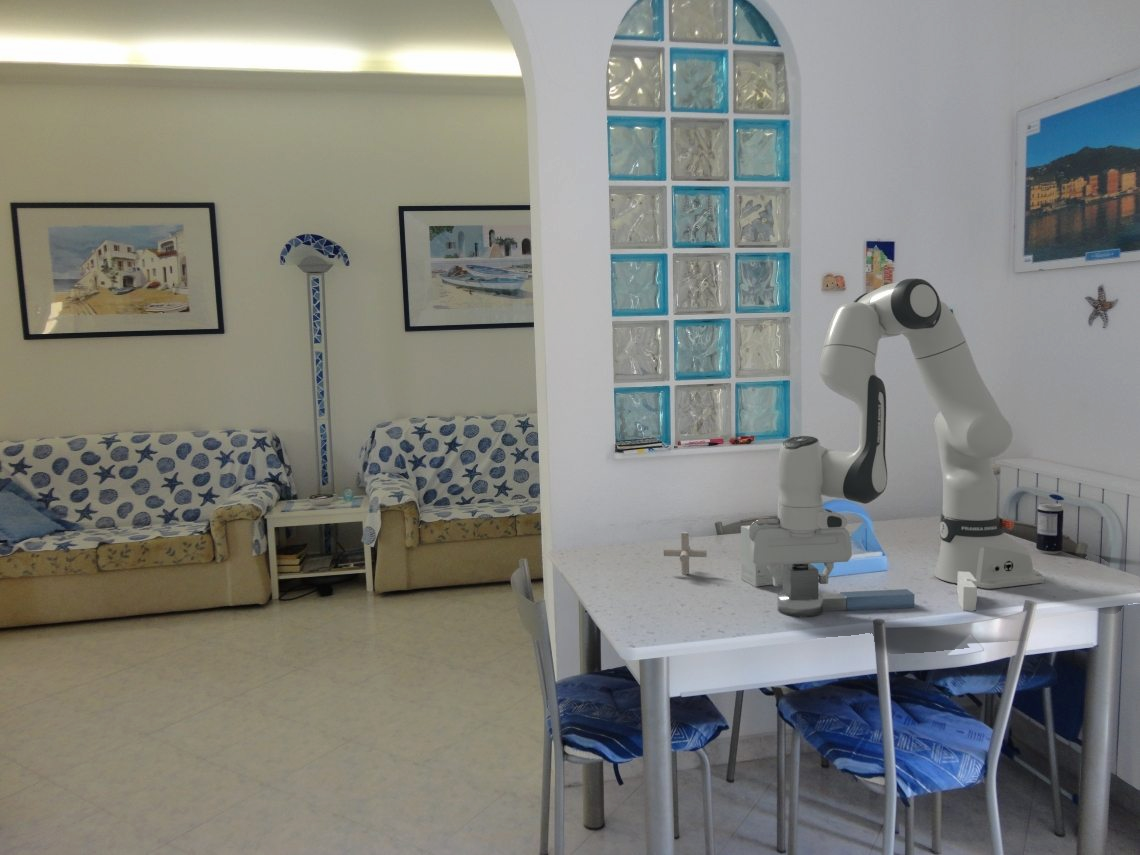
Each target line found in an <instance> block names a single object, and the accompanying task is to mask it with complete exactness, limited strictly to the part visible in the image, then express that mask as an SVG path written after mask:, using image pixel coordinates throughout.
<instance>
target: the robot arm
mask: <svg viewBox="0 0 1140 855" xmlns="http://www.w3.org/2000/svg"><path fill="white" fill-rule="evenodd" d="M900 335H903V336H904V337H906V338H905V339H907V340H908V342H909V346H910V349H911V352H912V355H913V358H914V360H915V363H916V366H917V369H918V371H919V373H920V375H921V376H920V377H921V378H922V381H923V384H924V387H925V389H926V391H927V393H928V394H929V395H930V396H931V398H932V400H933V402H934V403H935V405H936V406H937V408H938V411H939V412H938V413H937V415H936V416H935V419H934V423H933V429H934V430H933V431H934V432H935V433H934V434H935V435H936V440H937V449H938V455H939V462H940V468H941V476H942V513H941V514H940V519H939V521H940V522H939V531H940V532H939V535H940V540H941V541H940V546H939V547H940V548H939V553H938V559H937V563H936V566H935V569H934V572H933V575H934V577H936V578H937V579H939V580H942V581H945V582H948V583H953V584H957V580H958V571H959V572H970V573H971V574H972V575H973V577H974V578H975V579H976V580H977V588H981V589H988V590H989V589H991V590H992V589H1000V588H1009V587H1015V586H1016V587H1017V586H1018V587H1019V586H1026V585H1035V584H1041V583H1044V582H1045V578H1044V575H1043V574H1042V573H1041V572H1039V571H1037V570H1036V569H1033V568H1034V567H1033V560H1032V557H1031V554H1030V552H1029V551H1028V550H1027V549H1026V548H1025V547H1023V546H1022V545H1021V544H1019V543H1018V542H1017V541H1016V540H1014V539H1013V538H1012V537H1010V536H1009V535H1007V533H1005V530H1004V528H1005V529H1007V530H1013V528H1014V527H1015V522H1014V521H1013V520H1011V519H1009V518H1004V519H1003V518H1001V517H999V516H997V515H998V514H997V513H998V512H997V511H998V480H997V478H996V475H995V472H994V469H993V465H992V459H991V458H995V457H998V456H1000V455H1002V454H1004V453H1005V452H1006V451H1007V450H1008V449H1009V447H1010V446H1011V444H1012V441H1013V435H1014V434H1013V428H1012V426H1011V424H1010V422H1009V421H1008V420H1007V419H1006V418H1005V416H1004V415H1003V413H1002V412H1001V410H1000V408H999V406H998V404H997V402H996V401H995V399H994V397H993V395H992V394H991V391H990V390H989V388H988V387H987V385H986V383H985V382H984V380H983V379H982V377H981V374H980V372H979V371H978V368H977V366H976V363H975V360H974V358H973V356H972V353H971V350H970V347H969V345H968V342H967V340H966V337H965V336H964V332H963V330H962V329H961V327H960V324H959V322H958V320H957V318H956V317H955V315H954V314H953V312H952V311H951V309H950V307H949V306H948V305H947V304H946V303H945V302H943V301H941V299H940V296H939V294H938V291H937V290H936V289H935V287H934V286H933V285H932V284H931V283H930V282H928V281H927V280H925V279H923V278H906V279H903V280H901V281H898V282H893V283H892V282H891V283H888V284H885V285H882V286H880V287H878V288H876V289H874V290H871V291H870V292H867V293H866V292H865V293H862V295H860V296H859V297H857V298H856V299H854V300H853V301H851V302H845V303H843V304H841V305H840V306H838V307H837V308H836V310H835V311H834V314H833V316H832V318H831V320H830V323H829V325H828V328H827V331H826V333H825V338H824V341H823V346H822V350H821V354H820V359H819V365H818V368H819V369H818V370H819V375H820V378H821V380H822V381H823V383H824V385H826V387H828V389H830V390H832V391H833V392H834V393H836V394H838V395H840V396H842V397H844V398H846V399H848V400H850V401H851V402H854V403H855V404H856V405H857V408H858V410H859V430H858V431H859V435H858V448H857V449H856V450H855V451H845V450H835V449H828V448H827V447H823V446H822V445H821V442H820V440H819V439H818V437H814V436H811V435H799V436H793V437H790V438H787V439H785V440H784V441H782V443H781V445H780V448H779V453H778V460H777V485H778V488H779V494H778V498H777V518H767V519H763V518H759V519H756V520H755V521H754V522H752V523H751V524H750V528H749V536H750V539H751V544H750V559H751V561H752V562H753V563H754V564H755V565H757V566H765V565H767V568H768V570H769V572H770V573H771V575H772V576H773V585H772V586H774V587H783V584H782V577H781V576H777V575H776V573H775V571H774V570H777V565H787V564H809V563H810V564H823V566H825V567H824V569H823V571H822V572H821V573H818V584H819V585H828V583H829V577H830V574H831V572H832V571H833V569H834V567H835V565H834V564H835V563H847V562H849V561H850V560H851V559H852V556H853V553H852V552H853V550H852V549H853V548H852V538H851V535H850V534H851V533H850V532H849V530H848V529H847V528H846V527H847V526H848V519H847V518H846V517H845V516H844V515H842V514H841V513H840V512H838V511H834V510H831V509H829V508H825V507H824V500H823V497H822V496H826V497H828V498H829V497H830V498H836V499H838V498H839V499H843V500H844V499H845V500H848V501H852V502H856V503H861V504H864V505H865V504H866V505H867V504H870V503H871V502H873V501H874V500H876V499H878V497H880V496H881V495H882V494H883V493H884V491H886V488H887V483H888V469H887V468H888V467H887V460H886V440H887V437H886V434H887V430H886V429H887V392H886V387H885V386H886V385H885V383H884V381H883V380H882V379H881V378H880V377H879V376H877V371H876V358H877V354H878V353H877V352H878V346H879V341H880V340H881V339H883V338H884V339H885V338H893V337H896V336H900Z"/></svg>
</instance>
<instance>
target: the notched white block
mask: <svg viewBox="0 0 1140 855" xmlns="http://www.w3.org/2000/svg"><path fill="white" fill-rule="evenodd" d="M956 586H957V588H956V590H957V591H956V592H957V593H956V594H957V599H958V602H957V604H958V606H959V607H960V608H961V609H962V611H966V612H967V610H969V611H968V612H971V611H970V610H977V603H978V602H977V601H978V600H977V599H978V587H977V580H976V579H975V578H974V577H973V575H972V574H971V573H970V572H959V571H958V580H957V583H956Z"/></svg>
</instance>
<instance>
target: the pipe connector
mask: <svg viewBox="0 0 1140 855" xmlns="http://www.w3.org/2000/svg"><path fill="white" fill-rule="evenodd" d="M689 533H690V532H689V531H681V532H680V548H663V556H664V557H679V561H680V563H681V566H680V567H681V575H682V574H683V575H684V576H688V575H690V558H691V557H692V558H707V556H708V555H707V554H708V553H707V549H701V548H699V549H698V548H696V549H695V548H694V549H693V548H692V549H691V546H690V544H689V542H690V537H689V536H690V535H689ZM687 574H688V575H687ZM683 575H682V576H683Z"/></svg>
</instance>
